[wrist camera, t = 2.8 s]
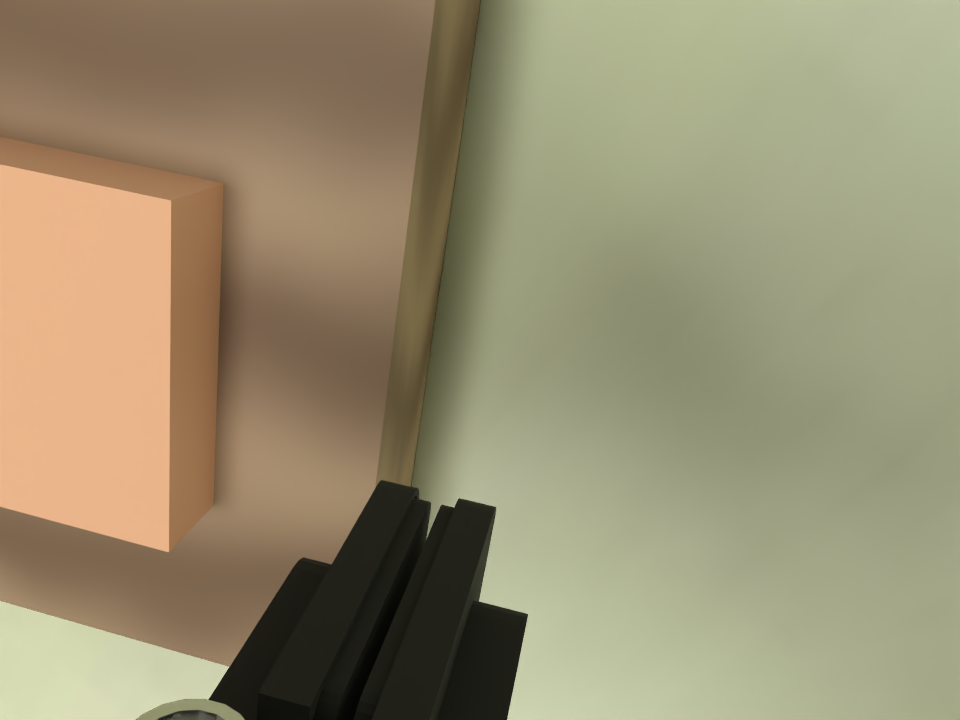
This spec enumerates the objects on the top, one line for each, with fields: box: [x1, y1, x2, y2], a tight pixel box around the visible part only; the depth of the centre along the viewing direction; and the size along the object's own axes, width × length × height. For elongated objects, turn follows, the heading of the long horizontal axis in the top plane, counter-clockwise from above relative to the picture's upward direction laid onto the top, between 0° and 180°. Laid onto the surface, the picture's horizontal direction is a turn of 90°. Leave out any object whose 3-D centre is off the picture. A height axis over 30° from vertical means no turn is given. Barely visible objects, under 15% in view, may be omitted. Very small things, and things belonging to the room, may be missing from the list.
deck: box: [0, 0, 481, 667], centre depth 21 cm, size 18×16×4 cm
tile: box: [0, 137, 224, 552], centre depth 18 cm, size 8×8×2 cm
